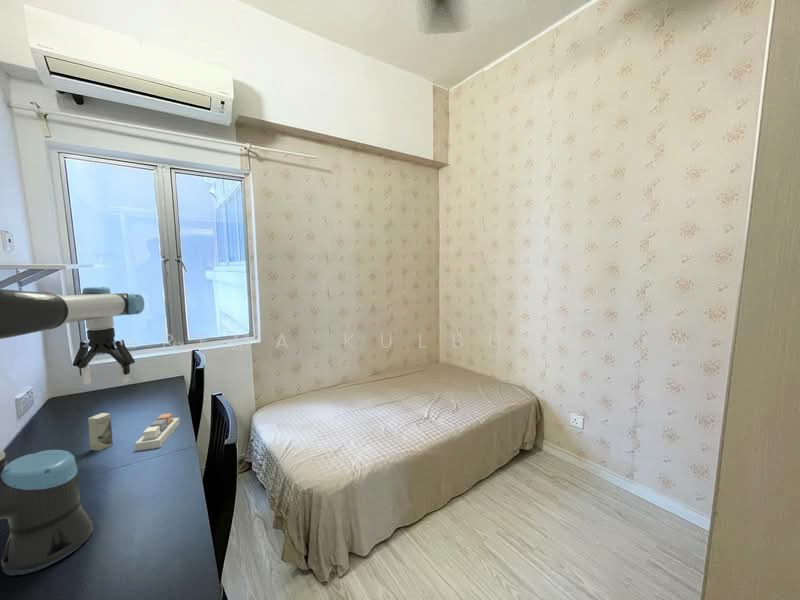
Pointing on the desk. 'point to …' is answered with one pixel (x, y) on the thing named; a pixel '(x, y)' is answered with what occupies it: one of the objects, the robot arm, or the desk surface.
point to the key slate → (159, 424)
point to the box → (100, 431)
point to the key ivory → (151, 432)
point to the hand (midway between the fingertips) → (106, 383)
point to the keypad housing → (161, 438)
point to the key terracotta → (165, 417)
